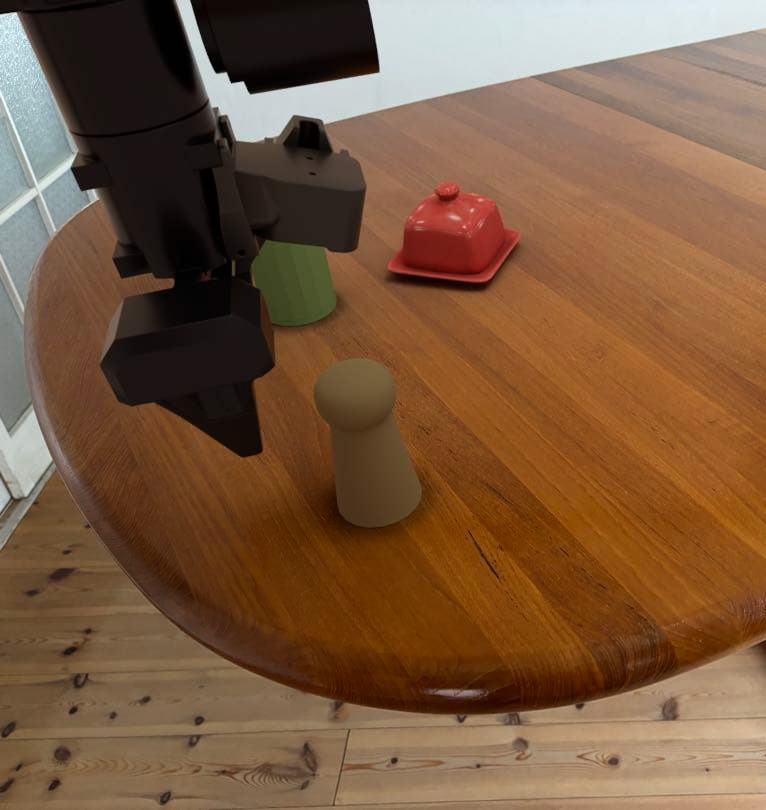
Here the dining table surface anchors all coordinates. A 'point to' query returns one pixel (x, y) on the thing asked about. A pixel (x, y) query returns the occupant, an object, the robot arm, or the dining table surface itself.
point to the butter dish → (454, 237)
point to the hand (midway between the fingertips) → (252, 400)
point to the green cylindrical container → (294, 282)
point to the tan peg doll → (366, 444)
